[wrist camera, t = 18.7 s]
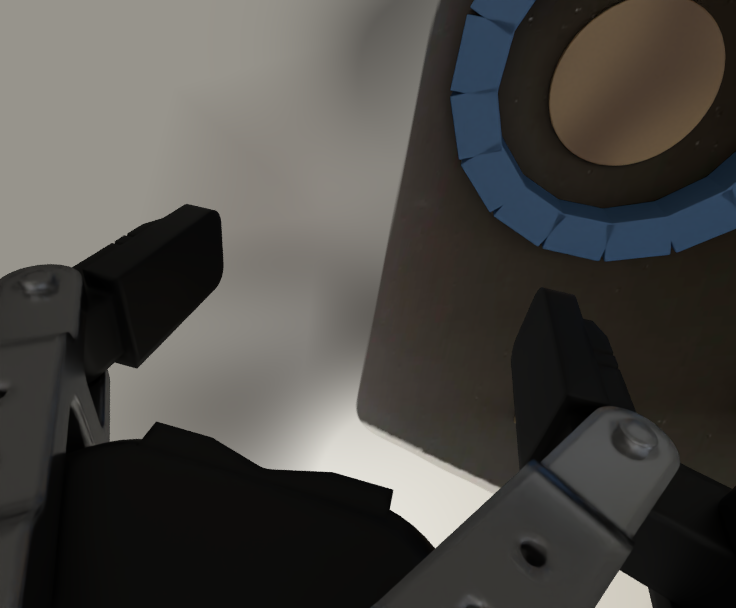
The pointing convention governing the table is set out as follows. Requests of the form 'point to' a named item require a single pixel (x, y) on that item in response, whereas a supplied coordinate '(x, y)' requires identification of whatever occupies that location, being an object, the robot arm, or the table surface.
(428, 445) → the table surface
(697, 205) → the hoop
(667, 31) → the cork coaster
